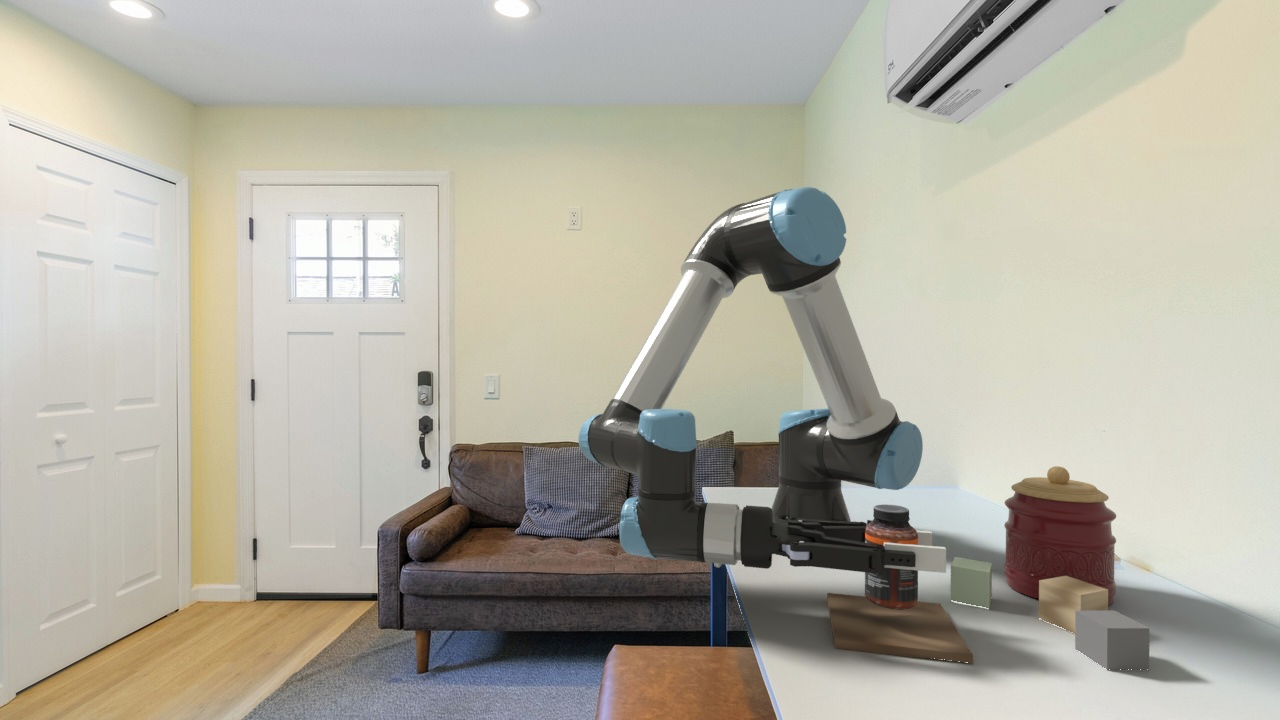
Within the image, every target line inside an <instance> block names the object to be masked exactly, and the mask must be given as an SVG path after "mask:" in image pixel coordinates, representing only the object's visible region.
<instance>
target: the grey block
mask: <svg viewBox="0 0 1280 720" xmlns="http://www.w3.org/2000/svg"><path fill="white" fill-rule="evenodd" d="M1074 637H1075V638H1074V639H1075V640H1074V643H1075V644H1074V647H1075V649H1076V650H1078V651H1080V652H1081V653H1083V654H1084V655H1086V656H1087V657H1089V658H1090V659H1092V660H1093V661H1094V663H1095V662H1096V663H1098V664H1099V665H1101V666H1102V667H1101V666H1100V667H1101V668H1103V667H1104V668H1106V669H1107V670H1106V669H1105V670H1106V671H1148V670H1147V669H1149V670H1150V627H1148V626H1146V625H1144V624H1142V623H1140V622H1138V621H1136V620H1134V619H1132V618H1130V617H1128V616H1127V615H1124V614H1123V613H1122V612H1121V613H1120V612H1118V611H1117V610H1108V611H1075V634H1074ZM1075 649H1074V650H1075ZM1076 650H1075V651H1076ZM1078 651H1077V652H1078ZM1081 653H1080V654H1081ZM1084 655H1083V656H1084ZM1087 657H1086V658H1087ZM1089 658H1088V659H1089ZM1090 659H1089V660H1090ZM1092 660H1091V661H1092ZM1093 661H1092V662H1093ZM1096 663H1095V664H1096ZM1098 664H1097V665H1098ZM1099 665H1098V666H1099ZM1104 668H1103V669H1104ZM1109 669H1110V670H1109ZM1120 669H1121V670H1120ZM1128 669H1129V670H1128ZM1131 669H1132V670H1131ZM1140 669H1141V670H1140Z"/></svg>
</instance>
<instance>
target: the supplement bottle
mask: <svg viewBox="0 0 1280 720" xmlns="http://www.w3.org/2000/svg"><path fill="white" fill-rule="evenodd" d="M910 518H911V517H910V509H908V508H907V507H906V506H905V507H904V506H901V505H896V504H877V505H874V506H873V519H872V520H871V521H872V522H871V523H869V524H868V525H867V526H866V529H865V543H871V544H880V545H883V546H884V542H887V543H900V544H913V545H918V534H917V531H918V530H917V529H915V527H914V526H912V525H911V524H910V522H909V521H910V520H911V519H910ZM916 530H917V531H916ZM864 596H866V598H867V599H868V600H869V601H870V602H872V603H874V604H876V605H878V606H881V607H884V608H890V609H897V610H904V609H909V608H912V607H914V606H915V605H916V604H917V602H919V601H918V600H919V599H918V597H919V571H918V570H907V569H895V568H884V575H882V576H880V575H878V574H874V573H867V572H864Z"/></svg>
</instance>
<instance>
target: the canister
mask: <svg viewBox="0 0 1280 720" xmlns="http://www.w3.org/2000/svg"><path fill="white" fill-rule="evenodd" d="M1046 476H1047V477H1042V476H1041V477H1040V476H1039V477H1038V476H1037V477H1025V478H1023V479H1022V480H1021V481H1019V482H1016V483H1015V484H1012V485H1011V490H1012V491H1013V492H1014V494H1013V495H1012V496H1011V497H1009V498H1007V499H1005V500H1004V506H1005V507H1006V508H1007V509H1008V518H1007V521H1006V522H1004V528H1005V562H1004V564H1003V567H1004V571H1003V573H1004V576H1005V581H1006V582H1005V583H1006V584H1007V585H1008V586H1009V587H1010V588H1011V589H1013V590H1014V589H1015V590H1014V591H1016V592H1018V593H1020V592H1021V594H1022V593H1023V594H1022V595H1024V594H1025V596H1027V595H1028V596H1027V597H1030V596H1031V597H1030V598H1033V597H1034V599H1036V598H1038V599H1037V600H1039V580H1044V579H1050V578H1055V577H1061V576H1069V577H1072V578H1075V579H1078V580H1081V581H1084V582H1087V583H1090V584H1093V585H1096V586H1099V587H1102V588H1105V589H1108V606H1110V605H1112V604H1113V603H1114V600H1115V599H1114V597H1115V595H1116V593H1117V590H1116V587H1117V583H1116V581H1115V544H1116V543H1117V538H1116V537H1115V536H1114V535H1113V533H1112V532H1113V531H1112V522H1113V521H1115V520H1116V518H1117V514H1116V512H1114V511H1113V510H1112V509H1110V508H1109V507H1107V506H1106V501H1109V498H1110V497H1109V496H1108V494H1106V493H1104V492H1103V491H1102V490H1099V489H1098V488H1097V487H1096V486H1095V485H1094V484H1091V483H1088V482H1084V481H1080V480H1079V481H1078V480H1073V479H1070V478H1071V477H1070V472H1069V471H1068V470H1067V469H1066V468H1065V467H1063V466H1052V467H1050V468H1049V469H1048V470H1047V473H1046Z"/></svg>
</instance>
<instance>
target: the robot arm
mask: <svg viewBox="0 0 1280 720" xmlns="http://www.w3.org/2000/svg"><path fill="white" fill-rule="evenodd" d="M845 234H847V227H846V222H845V219H844V216H843V213H842V211H841V210H840V207H839V206H838V203H836V201H835V200H834V199H833V198H832V197H831V196H830V195H828V193H826V191H822V190H819V188H817V187H812V186H802V187H798V188H791V189H790V188H789V189H783V190H782V191H778V192H775V193H773V194H768V195H766V196H763V197H760V198H757V199H753V200H751V201H747V202H743V203H740V204H736V205H734V206H731V207H730V208H728V209H726V210H725V211H722V213H720V214H719V215H718V216H717V217H716V218H715V219H714V220H713V221H712V222H711V223H710V224H709V225H708V227H706V229H705V230H704V231H703V233H702V234H700V237H698V239H697V240H696V242H695V243H694V245H693V246H692V248H691V249H690V251H689V252H688V254H687V255H686V258H685V260H683V263H682V265H681V267H680V273H681V278H680V280H679V281H678V283H677V285H676V287H675V288H674V290H673V291H672V293H671V296H670V297H669V299H668V301H667V303H666V304H665V306H664V308H663V310H662V311H661V313H660V315H659V316H658V318H657V320H656V321H655V323H654V325H653V327H652V329H651V330H650V332H649V333H648V335H647V337H646V338H645V340H644V342H643V344H642V345H641V348H640V349H639V351H638V352H637V354H636V357H634V360H633V361H632V363H631V365H630V366H629V368H628V370H627V372H626V374H625V375H624V376H623V379H622V381H620V383H619V385H618V387H617V389H616V391H615V392H614V394H613V396H612V398H611V399H610V401H609V403H608V404H607V406H606V407H605V409H604V411H603V412H602V413H599V414H594V415H593V416H591V417H589V418H588V419H587V420H585V421H584V422H583V424H582V425H581V427H580V430H579V433H578V445H579V447H578V448H579V449H580V452H581V453H582V454H583V456H584V457H585V458H586V459H587V460H589V461H591V462H594V463H595V464H598V465H599V466H601V467H606V468H612V469H615V470H621V471H624V472H626V473H630V474H634V475H636V476H638V477H637V478H638V480H637V481H638V482H637V486H638V487H637V488H638V490H637V492H638V493H637V496H635V497H629V498H627V499H626V500H625V501H624V504H623V505H622V508H621V512H620V521H619V531H618V533H619V542H620V545H621V548H622V549H623V551H624V552H625V553H627V554H629V555H632V556H639V557H643V558H644V557H645V558H650V559H652V560H657V561H658V560H668V561H669V560H670V561H684V562H695V563H696V562H697V563H705V564H706V563H707V564H714V567H715V568H721V567H722V565H729V566H735V565H737V564H738V562H739V561H741V565H743V566H744V567H745V568H746V567H747V568H757V569H767V570H768V569H770V568H771V566H772V564H773V563H772V562H773V555H776V556H781V557H786V558H787V559H789V565H790V566H792V567H795V568H796V567H814V568H823V569H832V570H840V571H849V572H850V571H851V572H858V573H860V572H861V573H865V572H867V573H874V574H878V575H880V576H882V575H884V568H895V569H907V570H918V572H920V571H922V572H932V573H943V574H944V573H945V574H946V573H947V548H946V547H945V546H937V545H936V546H934V545H933V532H932V531H929V530H917V529H915V530H916V531H917V534H918V545H913V544H900V543H887V542H884V546H883V545H880V544H871V543H865V529H866V526H867V525H868V524H869V523H871V522H872V521H873V520H871V519H867V520H866V522H865V521H851V516H850V514H849V510H848V508H847V504H846V502H845V501H846V500H845V499H844V496H843V491H842V482H846V483H847V482H848V483H851V484H852V483H853V484H856V485H861V486H866V487H871V488H876V489H878V490H884V489H885V490H892V491H899V490H901V489H904V488H906V487H907V486H908V485H909V484H910V483H911V482H912V481H913V480H914V478H915V477H916V475H917V472H918V470H919V468H920V466H921V462H922V457H923V445H924V444H923V436H922V432H921V431H920V429H919V427H918V426H917V425H916V424H914V423H912V422H910V421H907V420H906V421H901V420H900V418H899V417H900V416H899V415H898V412H897V410H896V407H895V405H894V404H893V403H892V402H891V401H889V400H888V399H885V398H882V396H881V393H880V391H879V390H878V386H877V383H876V381H875V379H874V376H873V373H872V371H871V368H870V365H869V362H868V360H867V357H866V353H865V352H864V349H863V346H862V343H861V341H860V338H859V336H858V333H857V331H856V328H855V326H854V322H853V320H852V317H851V315H850V311H849V308H848V306H847V304H846V301H845V298H844V296H843V292H842V291H841V289H840V284H839V283H838V280H837V278H836V274H837V273H838V270H839V269H840V267H841V264H842V261H841V258H840V257H841V255H842V254H843V252H844V250H845V247H846V245H847V244H846V243H847V238H846V237H845ZM761 274H762V277H763V279H764V282H765V284H766V286H767V288H768V291H769V292H770V293H771V294H774V295H777V296H780V297H782V299H783V302H784V304H785V307H786V309H787V311H788V314H789V316H790V319H791V322H792V323H793V326H794V329H795V331H796V334H797V336H798V338H799V340H800V343H801V346H802V347H803V350H804V353H805V355H806V358H807V360H808V362H809V365H810V368H811V369H812V372H813V374H814V377H815V380H816V382H817V385H818V386H819V389H820V392H821V393H822V396H823V399H824V401H825V404H826V406H827V408H818V409H817V408H816V409H815V408H814V409H802V410H801V409H800V410H791V411H790V410H789V411H785V412H784V413H782V414H781V416H780V419H779V430H778V489H777V492H776V494H775V497H774V500H773V503H772V506H771V507H769V506H760V505H759V506H758V505H747V504H746V505H745V506H743V508H742V509H740V506H739V505H738V504H737V503H720V502H700V501H696V472H697V471H696V468H697V446H698V440H697V433H696V432H697V429H696V416H695V415H694V414H693V413H692V412H691V411H689V410H686V409H677V408H676V409H673V408H664V405H665V404H666V402H667V401H668V398H669V397H670V395H671V393H672V391H673V389H674V388H675V386H676V385H677V383H678V380H679V378H680V377H681V374H682V373H683V371H684V369H685V367H686V366H687V364H688V363H689V360H690V358H691V357H692V355H693V353H694V351H695V349H696V347H697V346H698V344H699V342H700V340H701V339H702V337H703V335H704V333H705V331H706V329H707V327H708V326H709V323H710V322H711V320H712V318H713V316H714V314H715V313H716V312H717V309H718V307H719V305H720V303H721V302H722V300H723V299H726V298H729V297H730V296H731V295H732V294H733V292H734V290H735V289H736V287H737V285H738V284H739V283H740V282H742V281H743V280H744V279H745V278H747V277H750V276H752V275H753V276H754V275H761Z"/></svg>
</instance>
